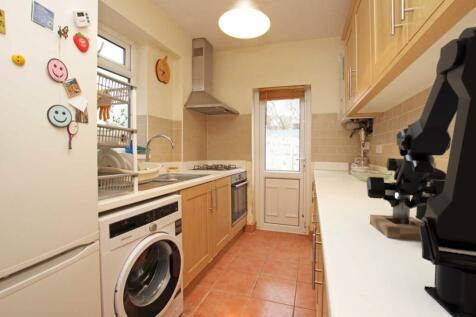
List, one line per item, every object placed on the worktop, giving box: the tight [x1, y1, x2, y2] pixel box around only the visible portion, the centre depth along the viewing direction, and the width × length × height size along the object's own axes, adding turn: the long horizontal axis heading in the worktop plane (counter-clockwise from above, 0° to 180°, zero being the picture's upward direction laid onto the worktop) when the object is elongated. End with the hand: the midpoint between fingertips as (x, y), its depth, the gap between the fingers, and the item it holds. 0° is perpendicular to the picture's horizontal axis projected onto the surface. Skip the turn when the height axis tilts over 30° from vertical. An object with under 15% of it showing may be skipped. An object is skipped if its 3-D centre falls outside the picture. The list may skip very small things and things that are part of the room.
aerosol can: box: [414, 161, 446, 221], centre depth 79 cm, size 8×8×20 cm
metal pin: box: [392, 193, 411, 225], centre depth 66 cm, size 4×4×12 cm
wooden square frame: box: [369, 214, 421, 241], centre depth 67 cm, size 12×12×3 cm
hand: (400, 206), depth 67 cm, fingers closed on metal pin, 4 cm apart
